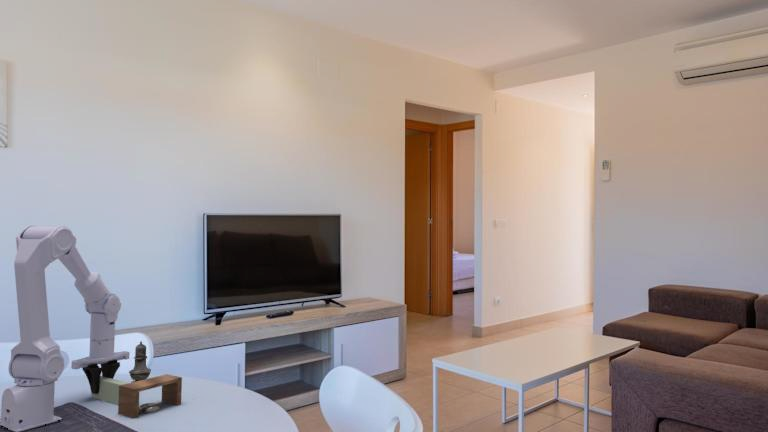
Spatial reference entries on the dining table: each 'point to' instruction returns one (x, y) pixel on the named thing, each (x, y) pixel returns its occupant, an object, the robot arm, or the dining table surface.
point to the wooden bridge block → (130, 391)
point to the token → (149, 408)
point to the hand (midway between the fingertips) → (100, 391)
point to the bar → (108, 390)
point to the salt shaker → (140, 364)
